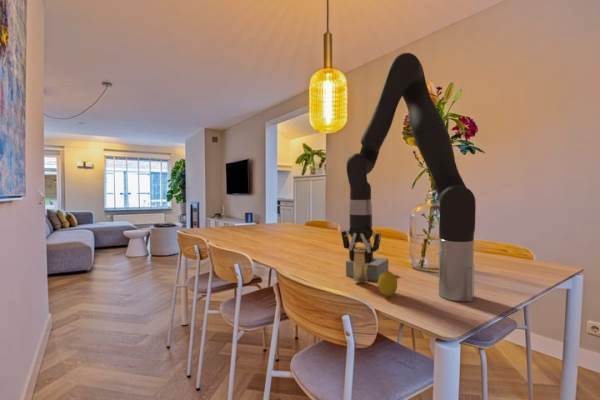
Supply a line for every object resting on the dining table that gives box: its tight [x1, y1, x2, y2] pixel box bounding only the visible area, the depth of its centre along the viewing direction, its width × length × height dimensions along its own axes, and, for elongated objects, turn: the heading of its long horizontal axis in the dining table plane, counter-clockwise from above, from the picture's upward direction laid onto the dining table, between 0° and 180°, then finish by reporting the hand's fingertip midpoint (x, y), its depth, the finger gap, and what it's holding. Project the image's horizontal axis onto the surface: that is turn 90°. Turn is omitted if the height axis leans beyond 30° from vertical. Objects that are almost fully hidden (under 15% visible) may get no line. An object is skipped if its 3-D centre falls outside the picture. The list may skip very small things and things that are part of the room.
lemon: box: [377, 270, 398, 298], centre depth 93 cm, size 6×6×8 cm
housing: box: [345, 256, 389, 282], centre depth 117 cm, size 12×12×6 cm
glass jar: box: [352, 246, 368, 283], centre depth 107 cm, size 5×5×11 cm
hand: (360, 261), depth 107 cm, fingers open, 5 cm apart
